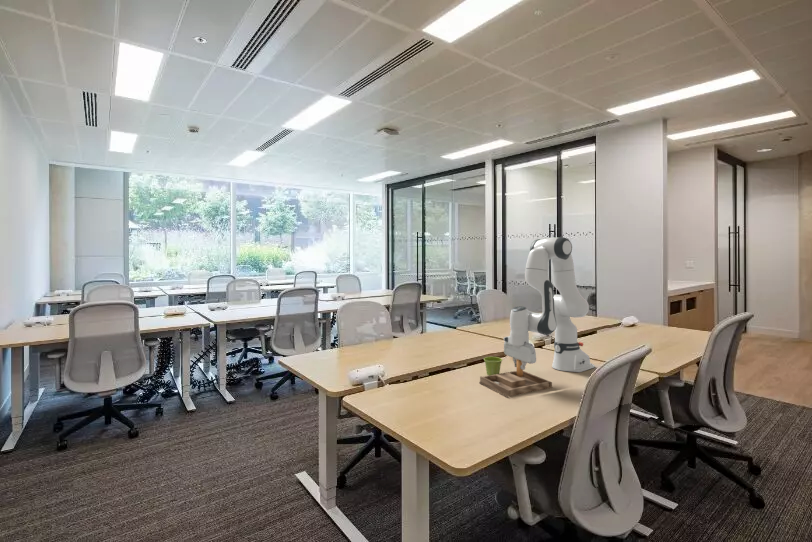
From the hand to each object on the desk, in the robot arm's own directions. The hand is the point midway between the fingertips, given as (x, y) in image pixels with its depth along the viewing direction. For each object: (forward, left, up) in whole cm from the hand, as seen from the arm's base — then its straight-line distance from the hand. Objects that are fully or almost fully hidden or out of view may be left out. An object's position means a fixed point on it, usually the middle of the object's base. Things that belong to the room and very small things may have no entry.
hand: (519, 368), depth 195 cm
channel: (+8, +6, -6) cm, 11 cm away
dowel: (0, 0, -4) cm, 4 cm away
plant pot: (+7, -12, -6) cm, 15 cm away
